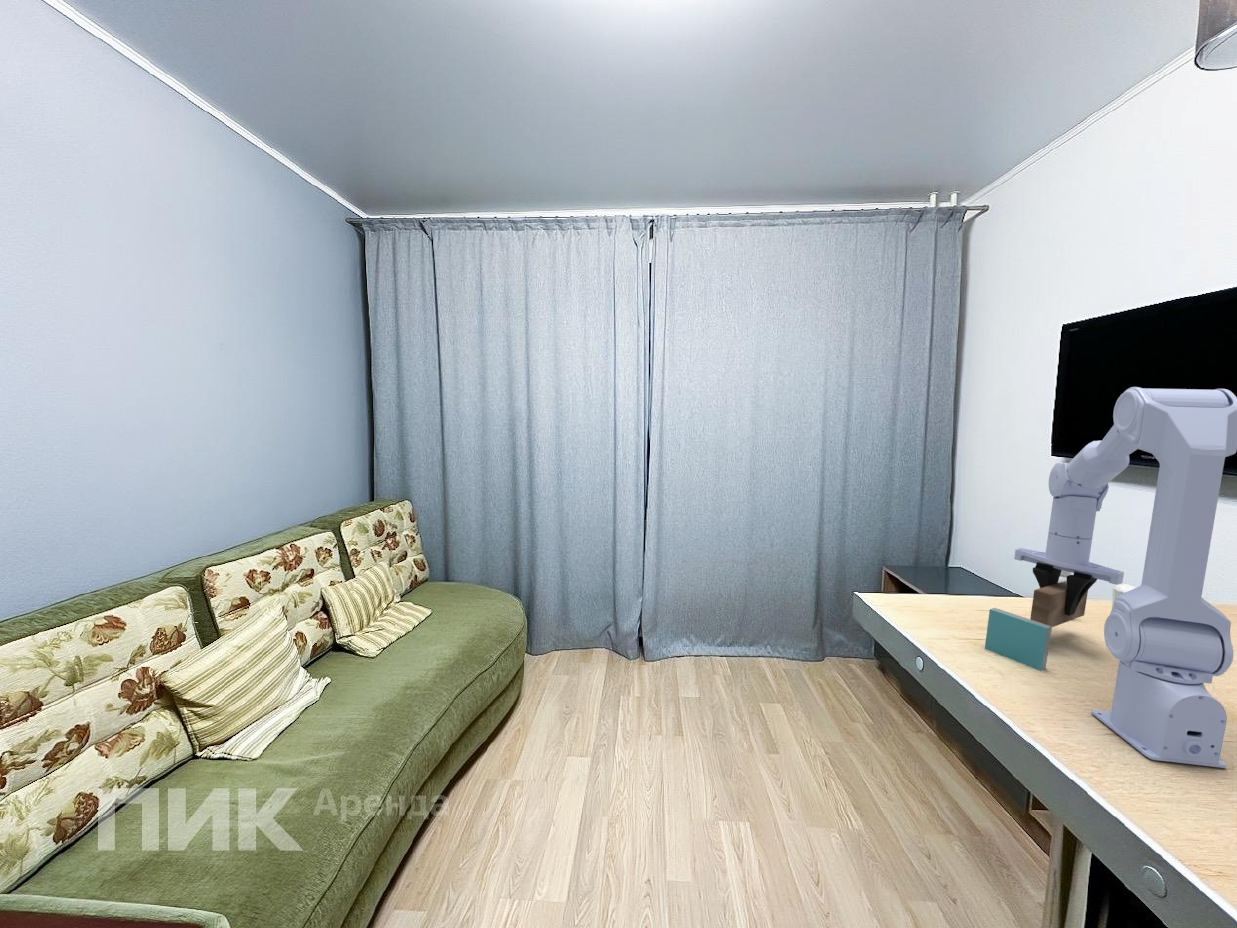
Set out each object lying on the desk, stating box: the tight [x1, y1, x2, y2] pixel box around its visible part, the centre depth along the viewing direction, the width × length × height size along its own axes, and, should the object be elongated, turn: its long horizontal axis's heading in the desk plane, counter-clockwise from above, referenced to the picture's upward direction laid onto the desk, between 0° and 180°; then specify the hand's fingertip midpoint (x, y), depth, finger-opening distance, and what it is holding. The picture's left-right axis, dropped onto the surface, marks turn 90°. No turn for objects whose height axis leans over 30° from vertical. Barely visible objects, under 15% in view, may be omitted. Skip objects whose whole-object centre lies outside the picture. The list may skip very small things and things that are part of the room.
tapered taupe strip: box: [1029, 581, 1089, 628], centre depth 91 cm, size 14×2×6 cm, turn 119°
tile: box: [984, 607, 1053, 672], centre depth 85 cm, size 8×2×7 cm, turn 29°
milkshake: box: [1111, 583, 1138, 608], centre depth 95 cm, size 4×5×10 cm
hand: (1058, 610), depth 91 cm, fingers closed on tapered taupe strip, 2 cm apart
